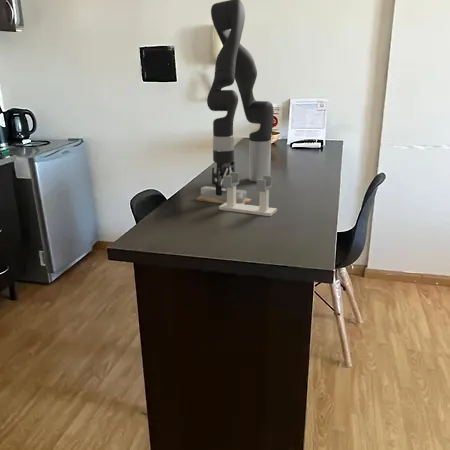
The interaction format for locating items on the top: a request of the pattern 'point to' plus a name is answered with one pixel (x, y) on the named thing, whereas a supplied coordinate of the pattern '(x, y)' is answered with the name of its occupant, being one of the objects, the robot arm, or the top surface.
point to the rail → (211, 193)
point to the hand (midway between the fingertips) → (224, 192)
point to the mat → (220, 200)
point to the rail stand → (231, 204)
